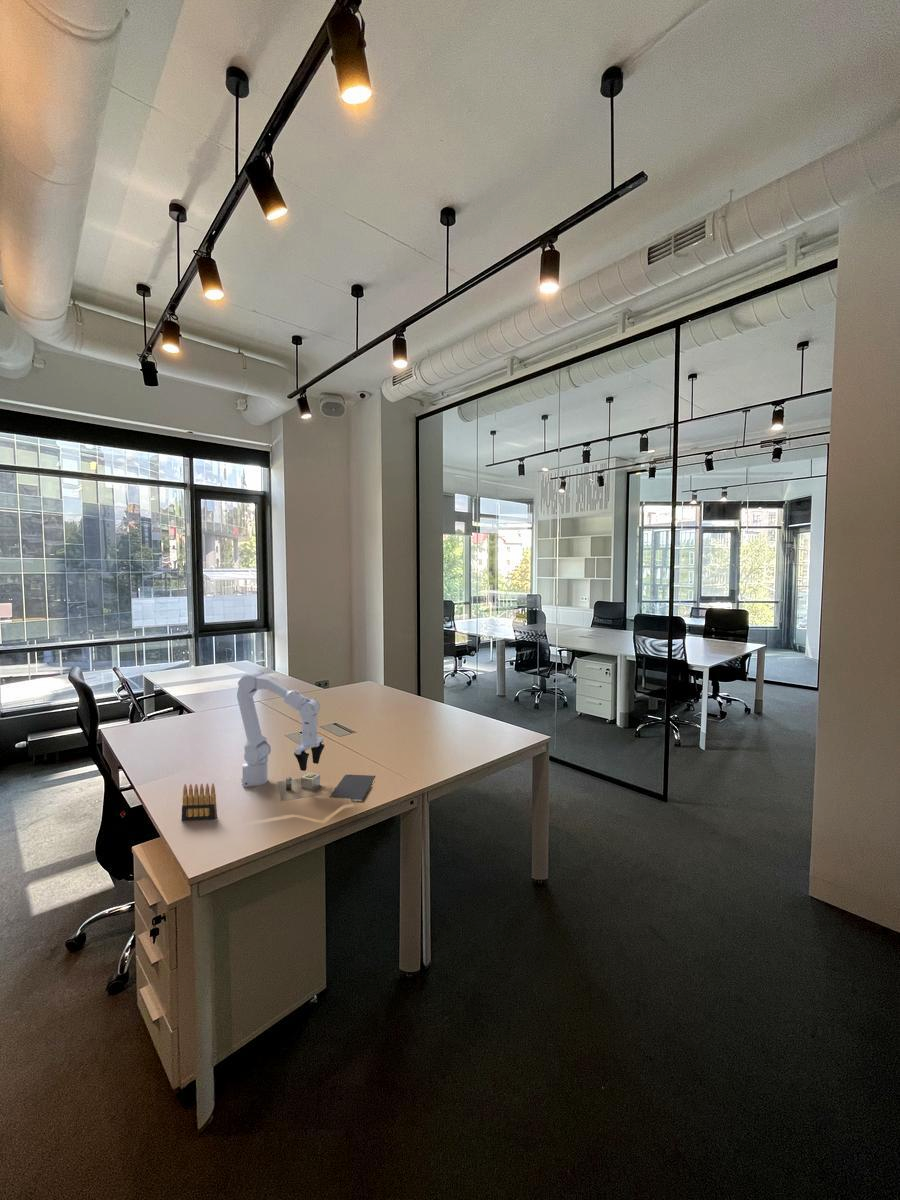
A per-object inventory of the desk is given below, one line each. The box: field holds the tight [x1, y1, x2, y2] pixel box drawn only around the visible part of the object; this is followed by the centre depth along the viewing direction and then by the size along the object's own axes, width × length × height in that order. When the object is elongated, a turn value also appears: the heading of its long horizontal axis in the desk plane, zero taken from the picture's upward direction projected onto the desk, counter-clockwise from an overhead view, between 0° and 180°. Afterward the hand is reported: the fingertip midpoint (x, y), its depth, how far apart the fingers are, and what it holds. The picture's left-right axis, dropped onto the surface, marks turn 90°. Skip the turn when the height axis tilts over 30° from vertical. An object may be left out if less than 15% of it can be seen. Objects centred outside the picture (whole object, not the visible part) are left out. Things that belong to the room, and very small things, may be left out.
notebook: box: [328, 774, 376, 802], centre depth 187 cm, size 13×2×21 cm
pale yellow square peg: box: [306, 773, 316, 778], centre depth 186 cm, size 2×2×4 cm
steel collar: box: [300, 772, 321, 790], centre depth 186 cm, size 5×5×4 cm
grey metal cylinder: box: [285, 776, 293, 791], centre depth 183 cm, size 2×2×4 cm
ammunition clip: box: [180, 782, 218, 822], centre depth 162 cm, size 11×2×12 cm, turn 97°
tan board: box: [277, 777, 324, 802], centre depth 185 cm, size 15×18×1 cm
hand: (309, 766), depth 187 cm, fingers open, 7 cm apart
